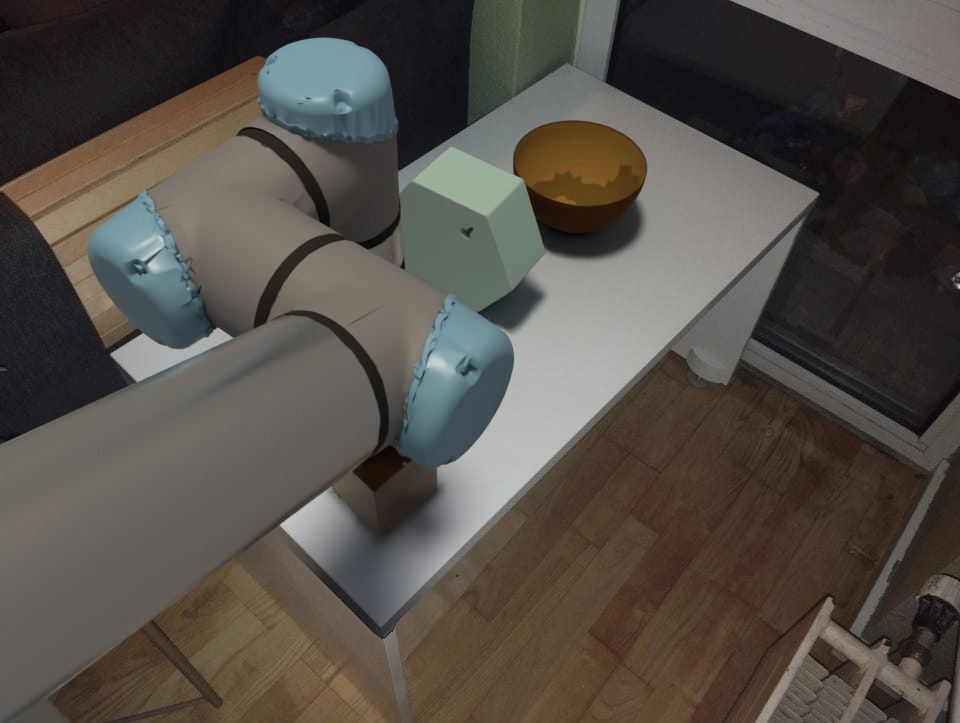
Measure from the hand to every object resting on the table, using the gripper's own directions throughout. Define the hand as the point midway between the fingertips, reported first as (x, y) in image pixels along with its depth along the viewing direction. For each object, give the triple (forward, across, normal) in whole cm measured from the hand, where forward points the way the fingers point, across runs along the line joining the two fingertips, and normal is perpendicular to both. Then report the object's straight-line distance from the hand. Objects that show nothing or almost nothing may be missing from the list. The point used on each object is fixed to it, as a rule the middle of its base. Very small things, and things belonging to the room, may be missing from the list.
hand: (376, 434), depth 73 cm
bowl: (+11, +13, -47) cm, 50 cm away
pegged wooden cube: (+11, 0, 0) cm, 11 cm away
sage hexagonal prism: (+11, +15, -27) cm, 33 cm away
